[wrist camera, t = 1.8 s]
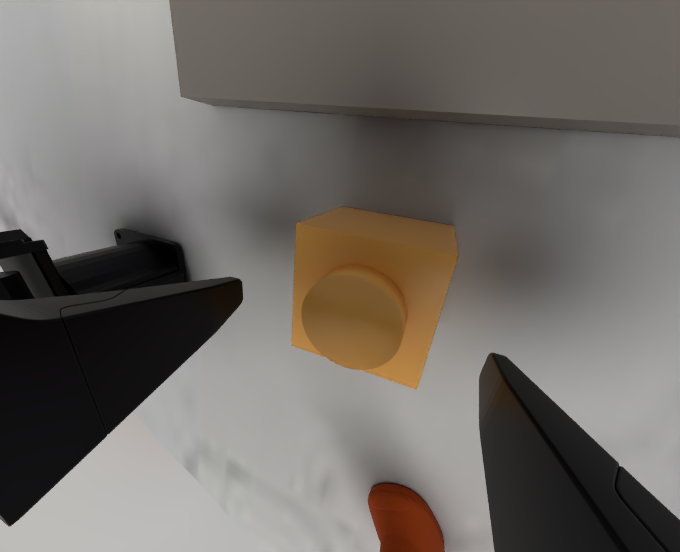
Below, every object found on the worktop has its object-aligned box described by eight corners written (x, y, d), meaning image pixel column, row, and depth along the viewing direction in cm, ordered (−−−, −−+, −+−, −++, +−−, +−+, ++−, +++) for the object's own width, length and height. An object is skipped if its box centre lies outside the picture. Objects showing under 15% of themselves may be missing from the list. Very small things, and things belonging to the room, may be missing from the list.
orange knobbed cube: (332, 298, 16) (276, 362, 11) (342, 206, 14) (277, 229, 8) (425, 324, 15) (413, 414, 9) (453, 225, 12) (460, 268, 7)
